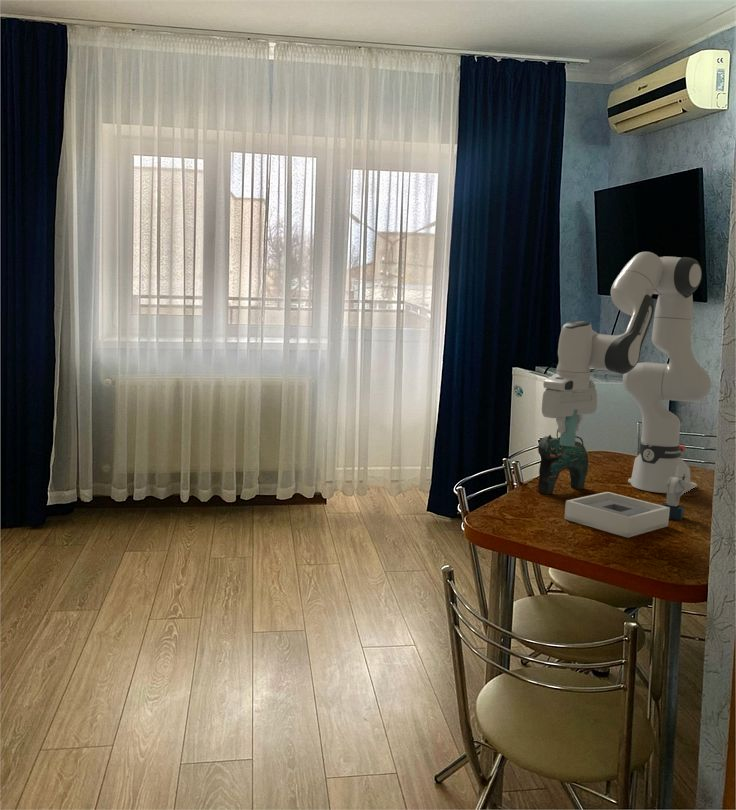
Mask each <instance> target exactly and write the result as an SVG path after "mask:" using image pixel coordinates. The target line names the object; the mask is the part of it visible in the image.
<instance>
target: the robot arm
mask: <svg viewBox="0 0 736 810" xmlns="http://www.w3.org/2000/svg"><path fill="white" fill-rule="evenodd" d="M702 277H703V271H702V266H701V264H700V263H699V261H698V260H697V259H695V258H692V257H688V256H687V257H686V256H683V257H679V256H678V257H677V256H666V255H665V256H658V255H657V254H655V253H654V252H651V251H641V252H638V253H637V254H635V255H634V256H633V257H631V259H630V260H629V261H628V262H627V263H626V264H625V265H624V266H623V268H622V269H621V271H620V272H619V274H618V275H617V276H616V278H615V280H614V281H613V283H612V285H611V288H610V298H611V301H612V304H614V305H615V307H616V308H617V309H618V310H619V311H620V312H622V313H623V314H626V315H627V316H631V317H630V320H629V322H628V324H627V327H626V330H625V332H623V333H621V334H616V335H615V334H606V333H605V334H603V333H598V332H596V331H595V330H594V329H592V326H593V325H592V323H591V322H589V321H586V320H576V321H575V320H573V321H569V322H565V323H564V324H563V326H562V327H561V331H560V334H559V339H558V344H557V345H558V348H557V357H558V363H557V365H556V370H555V372H556V373H554V374H553V375H551V376H550V377H548V378H546V379H545V380H544V381H543V388H544V391H543V394H542V402H541V414H542V416H543V417H544V418H547V419H548V418H549V419H555V421H556V424H557V426H558V427H557V429H558V433H559V434H561V433H566V432H567V430H566V429H567V426H565V423H564V421H565V419H566V417H568V416H572V415H573V413H574V410H578V412H577V424H576V432H578V431H579V426H580V424H581V422H582V421H583V416H584V415H591V414H595V413H596V411H597V407H598V403H597V402H598V401H597V400H598V397H597V393H598V392H597V389H596V384H595V383H594V381H593V380H592V379H590V378H591V377H590V375H591V369H595V370H602V371H608V372H613V373H617V374H622V385H623V388H624V389H625V391H626V392H627V394H629V395H630V396H631V398H633V399H634V401H635V402H636V404H637V406H638V407H639V410H640V414H641V421H642V423H641V440H640V441H639V445H638V453H639V454H638V455H637V456H636V457H635V459H634V461H633V466H632V467H633V468H632V473H631V477H630V478H628V480H627V483H630V485H631V486H632V487H634V488H635V489H638V490H642V491H646V492H652V493H657V494H658V493H661V494H667V492H668V487H667V485H665V484H666V483H668V480H669V479H670V477H678V478H681V479H682V480H684V481H685V483H686V488H685V490H684V492H683V494H682V495H685V494H686V492H687V493H689V492H690V490H691V489H693V488H695V487H696V486H697V487H698V483H695V482H693V481H691V468H690V467H689V466H688V464H687V463H686V462H685V461H684V460H683V459H682V457H681V456H682V454H681V453H682V452H685V450H686V446H685V445H683V444H680V435H681V434H680V433H681V426H682V425H681V420H680V418H679V417H678V416H677V415H676V414H675V413H673V412H671V411H670V410H669V409H667V408H666V407H665V406H664V402H663V400H667V401H675V402H684V403H686V402H687V403H688V402H689V403H690V402H701V401H703V400H704V399H706V397H707V396H708V394H709V393H710V390H711V387H712V380H711V377H710V374H709V373H708V372H707V370H705V369H704V368H703V367H702V366H701V365H700V364H699V362H698V361H697V359H696V357H695V356H694V353H693V351H692V350H693V349H692V344H691V342H692V341H691V340H692V325H693V314H694V299H693V296H694V295H693V294H694V293H695V291H696V290H698V287H699V286H700V285H701V281H702ZM653 295H658V296H657V299H656V304H655V301H654V299H653ZM653 316H654V317H653ZM652 319H653V324H652V333H651V342H652V344H653V346H654V347H655V348H656V349H658V350H659V351H660V352H662V353H663V354H664V355H665V354H666V355H667V356H668V359H669V363H662V362H661V363H659V362H658V363H657V362H650V361H649V362H648V361H647V362H644V361H643V362H639V360H640V355H641V351H642V347H643V343H644V342H645V341H644V340H645V338H646V336H647V333H648V330H649V328H650V324H651V322H652ZM697 487H696V488H697ZM696 488H695V489H696ZM693 490H694V489H693ZM688 491H689V492H688ZM691 491H692V490H691ZM684 493H685V494H684Z"/></svg>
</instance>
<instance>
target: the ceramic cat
mask: <svg viewBox="0 0 736 810" xmlns="http://www.w3.org/2000/svg"><path fill="white" fill-rule="evenodd" d="M558 433H559V432H558V428H557V430H556V437H553V436H552V434H549V435H547V436H543V437H542V438H541V439H540V440H539V443H538V448H537V452H538V454H539V456H540V464H539V469H538V475H539V476H538V483H537V485H538V487H537V488H538V491H540V492H542V493H545V494H544V495H546V494H548V495H552V493H554V490H555V489H554V488H555V486H556V482H557V480H558V477H559V476H560V473H561V472H562V471H565V470H568V473H569V477H570V488H571V487H572V488H573V489H575V490H577V489H578V490H582V489H584V488H585V482H586V479H587V476H588V475H587V474H588V472H589V471H588V470H589V469H588V468H589V458H588V457H589V456H588V453H587V450H586V447H585V445H584V440H583V438H582V437H580V436H577V435H575V439H579V440H580V441H577V440H575V446H562V445H560V436H559V434H558ZM558 436H559V437H558ZM538 491H537V492H538ZM542 493H541V494H542Z"/></svg>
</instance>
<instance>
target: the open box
mask: <svg viewBox="0 0 736 810" xmlns="http://www.w3.org/2000/svg"><path fill="white" fill-rule="evenodd" d="M669 512H670V508H669V507H665V506H662V504H658V503H653V502H650V501H646V500H641V499H637V498H634V497H629V496H627V495H622V494H619V493H614V492H609V491H604V492H600V493H595V494H590V495H586V496H581V497H577V498H572V499H567V500H565V507H564V518H563V519H564V520H566V521H568V522H569V521H570V522H573V523H576V524H579V525H583V526H587V527H589V528H590V527H591V528H593V529H597V530H600V531H603V532H607V533H611V534H613V535H617V536H620V537H624V538H628V539H629V538H631V537H635V536H639V535H642V534H645V533H649V532H653V531H656V530H659V529H662V528H666V527H669Z"/></svg>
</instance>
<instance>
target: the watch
mask: <svg viewBox="0 0 736 810" xmlns="http://www.w3.org/2000/svg"><path fill="white" fill-rule="evenodd" d="M665 485H667V487H668V492H667V493H666V500H665V501H666V502H663V503H661V505H662V506H665V507H669V508H670V512H669V519H670V520H676V521H682V519H683V518H684V517H685V516H684V515H685V505H681V504H679V503H680V499H681V497H682V496H683V495H684V494H683V492H684V490H685V488H686V483H685V481H684V480H682V479H681V478H678V477H670V479H669V480H668V483H666V484H665Z"/></svg>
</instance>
